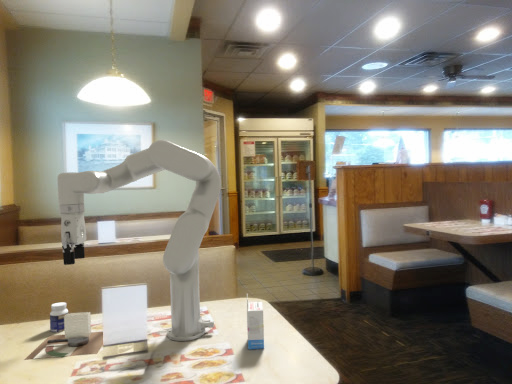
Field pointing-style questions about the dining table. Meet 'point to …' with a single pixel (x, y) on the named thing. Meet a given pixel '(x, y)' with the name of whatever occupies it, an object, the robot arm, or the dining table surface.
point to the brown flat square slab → (67, 347)
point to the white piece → (76, 329)
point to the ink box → (255, 325)
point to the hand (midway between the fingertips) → (74, 261)
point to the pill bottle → (58, 317)
